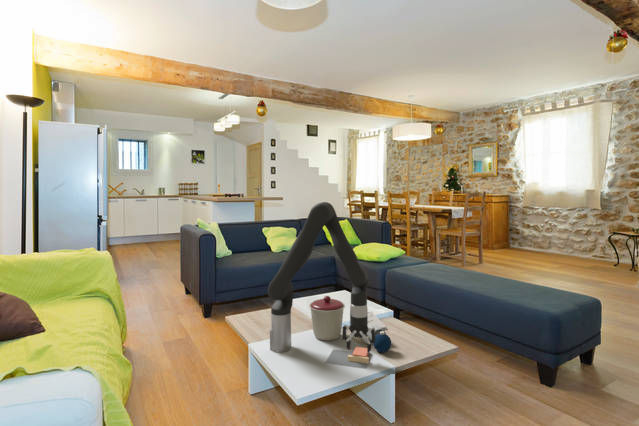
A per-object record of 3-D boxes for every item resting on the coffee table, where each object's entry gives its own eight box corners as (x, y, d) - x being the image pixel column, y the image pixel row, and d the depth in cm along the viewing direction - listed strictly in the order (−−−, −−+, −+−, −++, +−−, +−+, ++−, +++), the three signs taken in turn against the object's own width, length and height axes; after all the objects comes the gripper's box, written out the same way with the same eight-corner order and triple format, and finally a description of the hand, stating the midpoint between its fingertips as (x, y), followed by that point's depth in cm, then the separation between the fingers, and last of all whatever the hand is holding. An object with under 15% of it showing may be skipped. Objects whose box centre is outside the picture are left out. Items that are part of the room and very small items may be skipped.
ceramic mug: (379, 337, 186) (378, 322, 185) (386, 343, 178) (386, 328, 177) (359, 340, 182) (359, 325, 182) (366, 347, 175) (366, 331, 174)
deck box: (352, 354, 161) (356, 346, 169) (352, 358, 161) (356, 350, 169) (365, 356, 160) (368, 348, 167) (365, 360, 160) (368, 352, 167)
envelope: (361, 332, 194) (386, 330, 196) (361, 328, 193) (386, 326, 196) (349, 316, 217) (372, 314, 219) (349, 312, 217) (372, 311, 219)
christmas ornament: (394, 354, 167) (395, 332, 166) (378, 357, 164) (378, 335, 163) (385, 346, 175) (385, 326, 174) (369, 349, 172) (369, 328, 171)
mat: (324, 363, 158) (324, 358, 158) (333, 350, 171) (333, 345, 171) (366, 369, 152) (366, 364, 152) (371, 355, 166) (371, 349, 166)
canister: (326, 327, 199) (326, 289, 198) (352, 336, 186) (352, 296, 185) (302, 336, 187) (301, 296, 185) (327, 347, 174) (327, 304, 172)
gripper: (376, 312, 160) (376, 348, 161) (344, 309, 165) (344, 344, 166) (373, 318, 153) (373, 356, 154) (340, 315, 157) (340, 352, 158)
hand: (358, 350), depth 160 cm, fingers open, 8 cm apart
